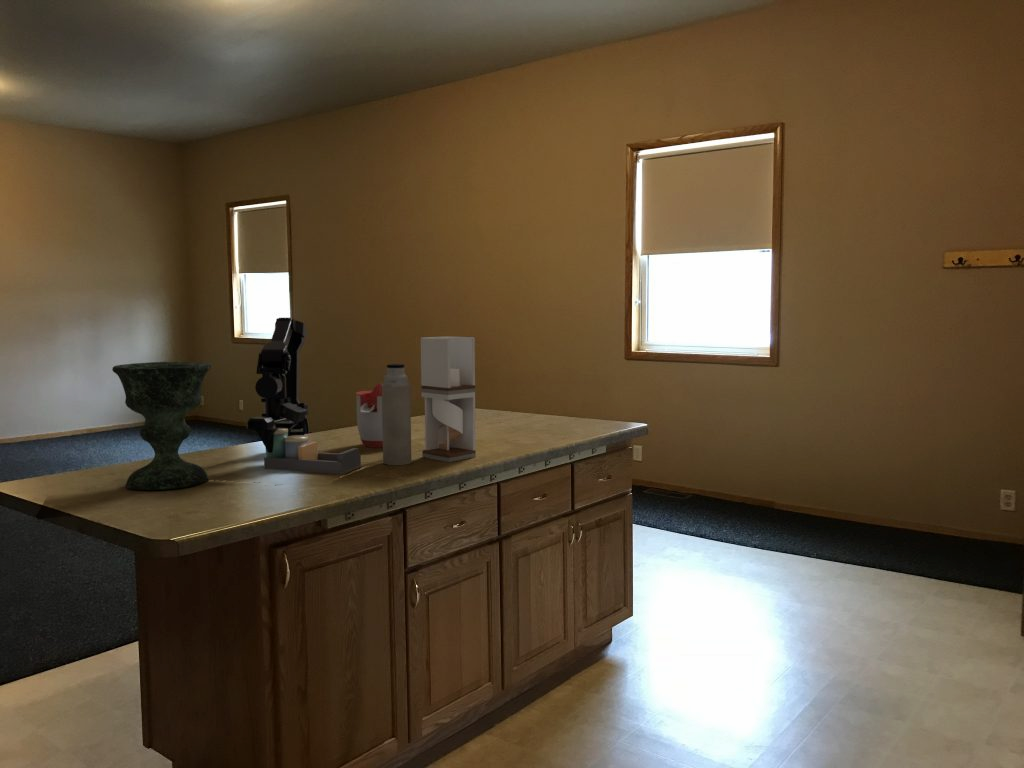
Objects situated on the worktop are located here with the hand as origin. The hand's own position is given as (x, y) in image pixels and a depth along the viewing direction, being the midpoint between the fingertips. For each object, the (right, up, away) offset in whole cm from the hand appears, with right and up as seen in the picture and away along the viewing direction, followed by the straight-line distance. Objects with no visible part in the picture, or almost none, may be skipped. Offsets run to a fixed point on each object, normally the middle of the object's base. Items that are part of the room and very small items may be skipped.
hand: (276, 450), depth 226 cm
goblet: (-22, -7, -19) cm, 30 cm away
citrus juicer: (+23, -2, +35) cm, 42 cm away
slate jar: (+6, -4, -1) cm, 7 cm away
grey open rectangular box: (+11, -5, -3) cm, 12 cm away
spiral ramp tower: (+46, -3, +16) cm, 49 cm away
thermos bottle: (+32, -4, +7) cm, 33 cm away
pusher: (+9, -4, -2) cm, 10 cm away
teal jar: (0, -2, 0) cm, 2 cm away
